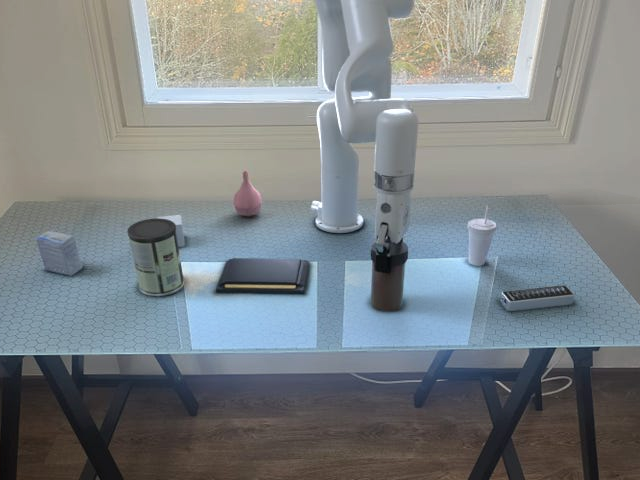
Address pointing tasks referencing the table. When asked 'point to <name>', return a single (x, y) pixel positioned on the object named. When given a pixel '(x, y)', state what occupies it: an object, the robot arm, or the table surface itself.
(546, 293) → the multiport hub
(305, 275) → the wallet
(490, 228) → the smoothie
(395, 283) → the jar
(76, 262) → the medicine box
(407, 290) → the table surface
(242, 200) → the pink teardrop shaped piece
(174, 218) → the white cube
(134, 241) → the coffee can
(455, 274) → the table surface
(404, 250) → the lid
